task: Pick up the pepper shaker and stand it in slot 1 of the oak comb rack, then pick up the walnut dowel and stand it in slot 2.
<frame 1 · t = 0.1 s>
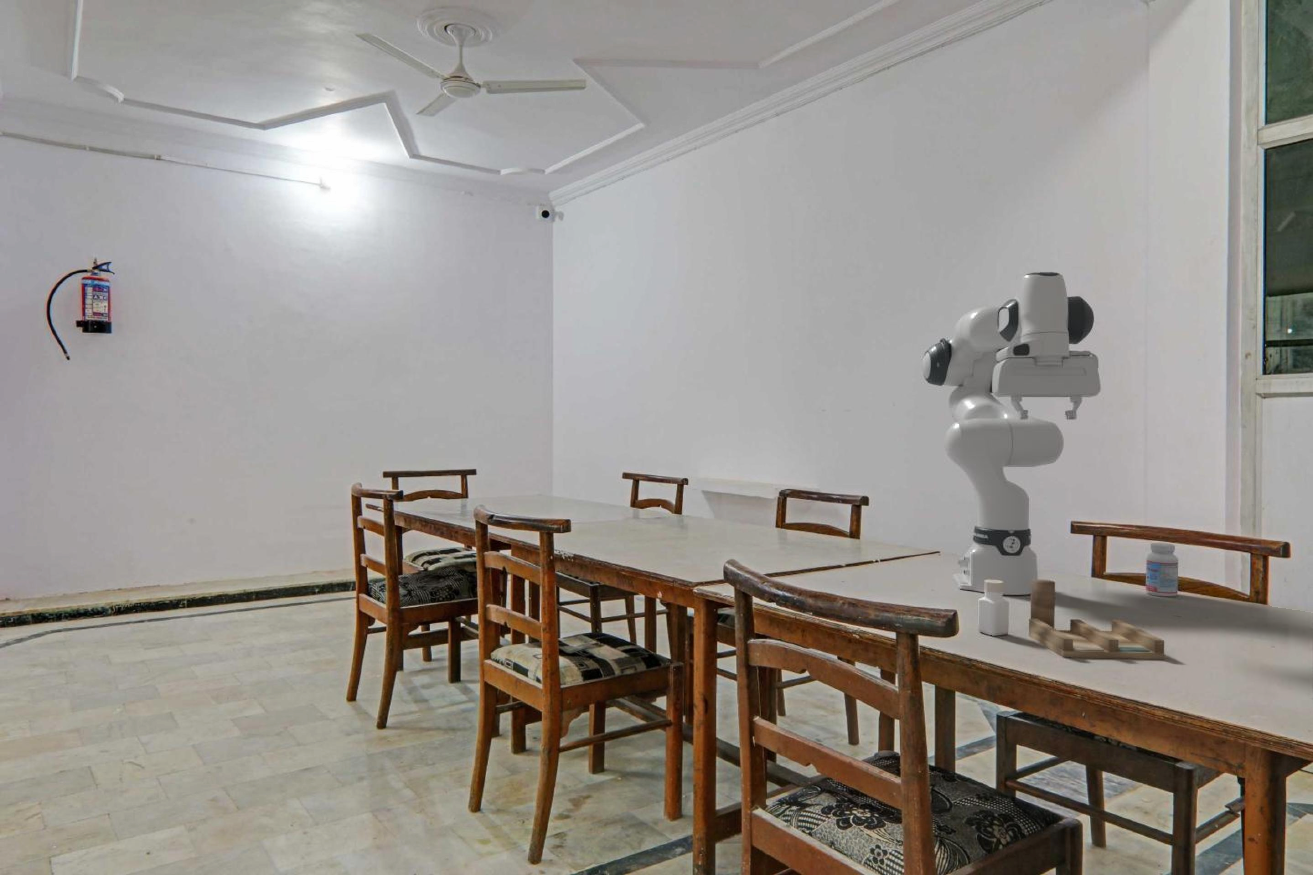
hand: (1046, 419, 167), 39 cm above the table, tool pointing down, fingers open, 8 cm apart
rack: (1092, 646, 143), on the table
pepper shaker: (992, 634, 152), on the table
dowel: (1042, 630, 154), on the table
pill bottle: (1161, 595, 187), on the table
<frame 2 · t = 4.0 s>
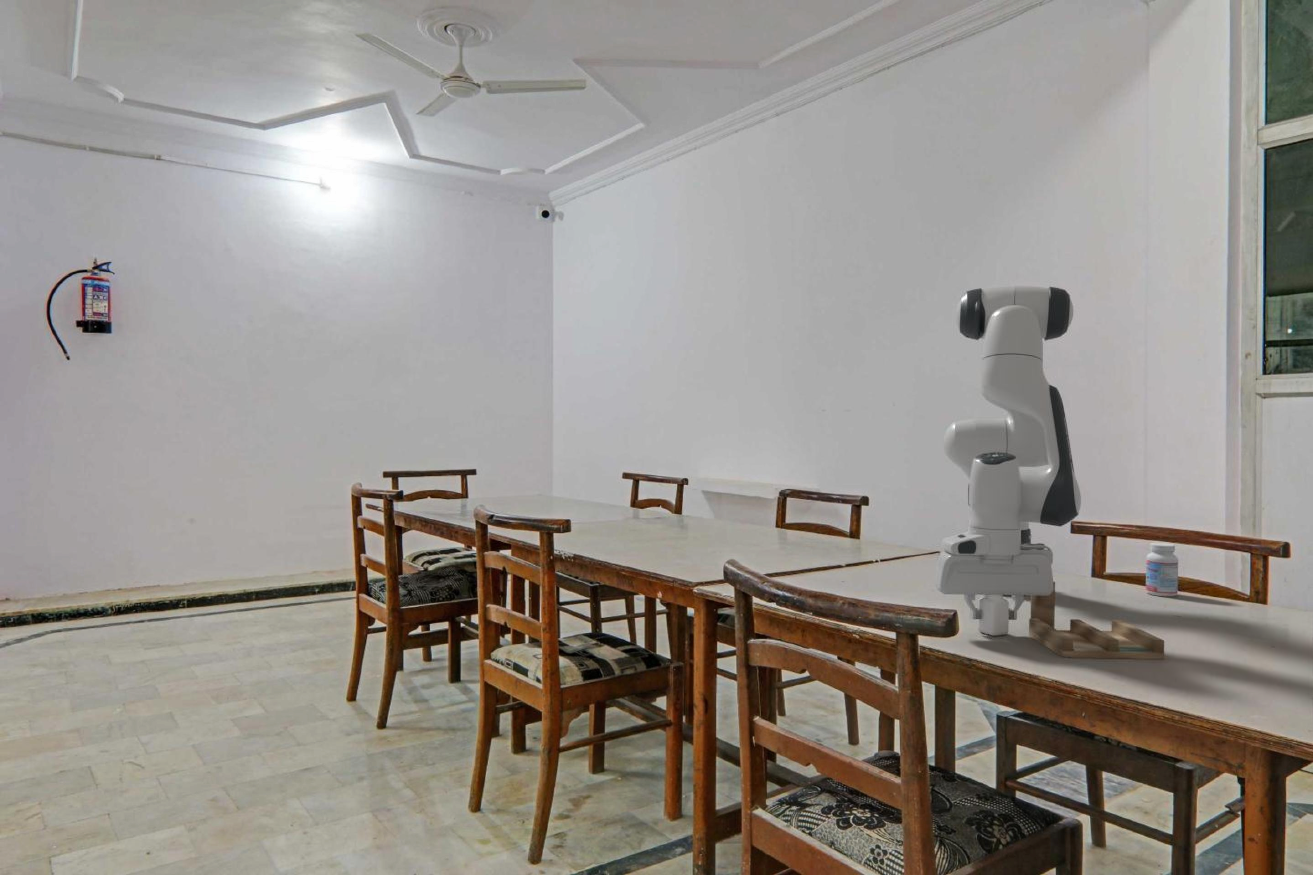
hand: (993, 618, 152), 3 cm above the table, tool pointing down, fingers closed on pepper shaker, 5 cm apart
pepper shaker: (993, 634, 152), on the table, touching gripper
everything else where it was.
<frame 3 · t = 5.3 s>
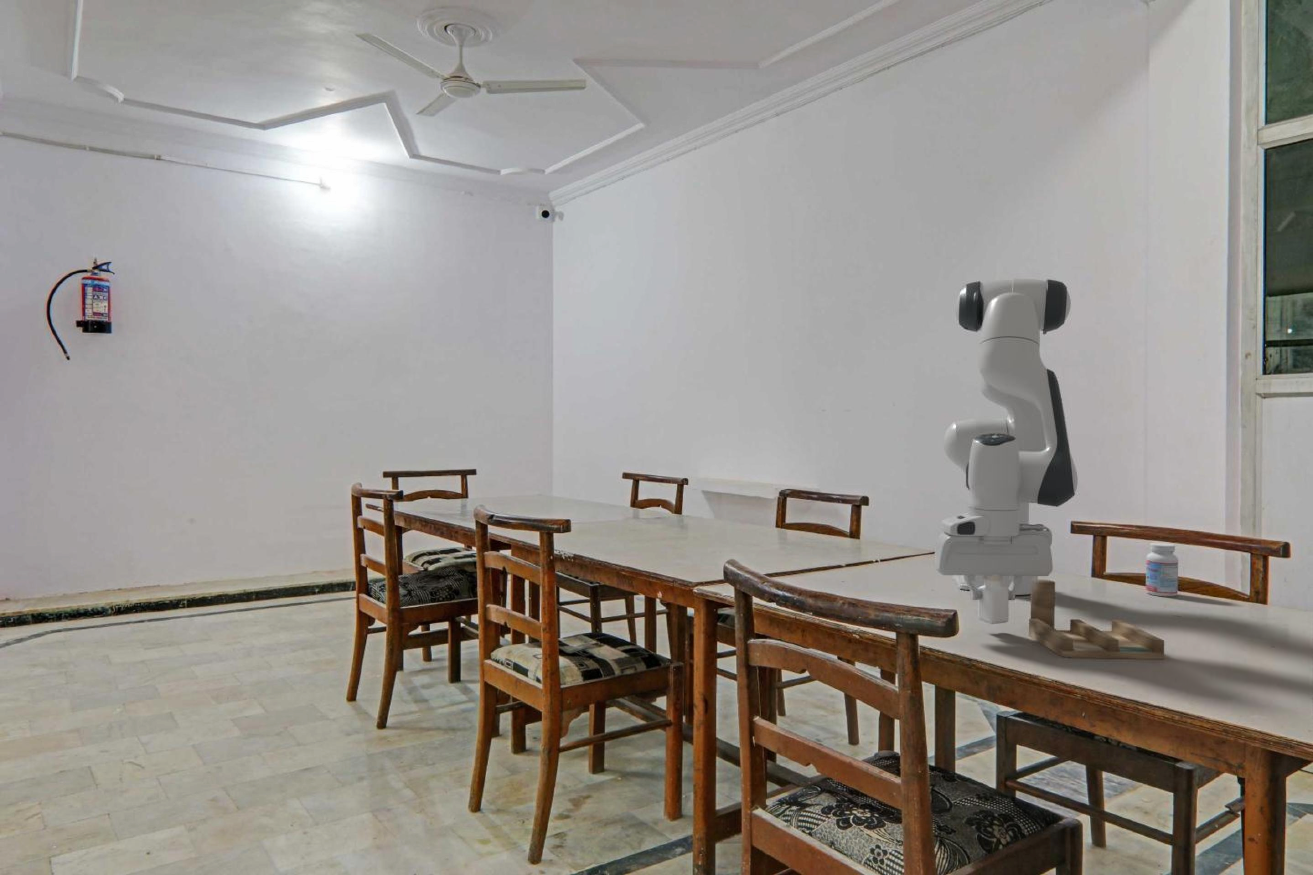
hand: (992, 599, 152), 6 cm above the table, tool pointing down, fingers closed on pepper shaker, 5 cm apart
pepper shaker: (993, 622, 152), point 2 cm above the table, touching gripper
everything else where it was.
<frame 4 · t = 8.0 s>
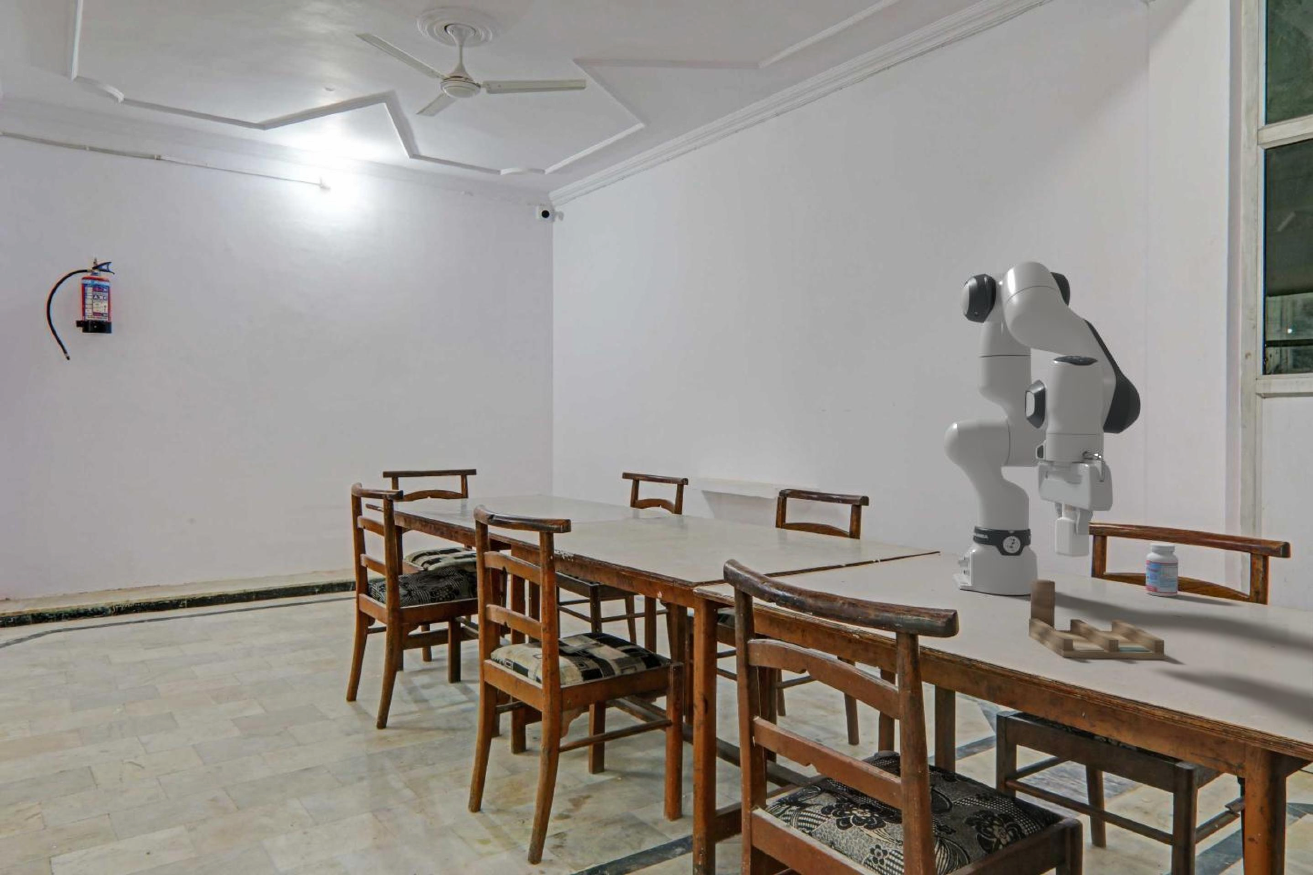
hand: (1072, 531, 143), 20 cm above the table, tool pointing down, fingers closed on pepper shaker, 5 cm apart
pepper shaker: (1072, 556, 143), point 15 cm above the table, touching gripper
everything else where it was.
when the fingers open (5 cm above the table, at t = 11.0 s): pepper shaker moves 2 cm, resting on rack.
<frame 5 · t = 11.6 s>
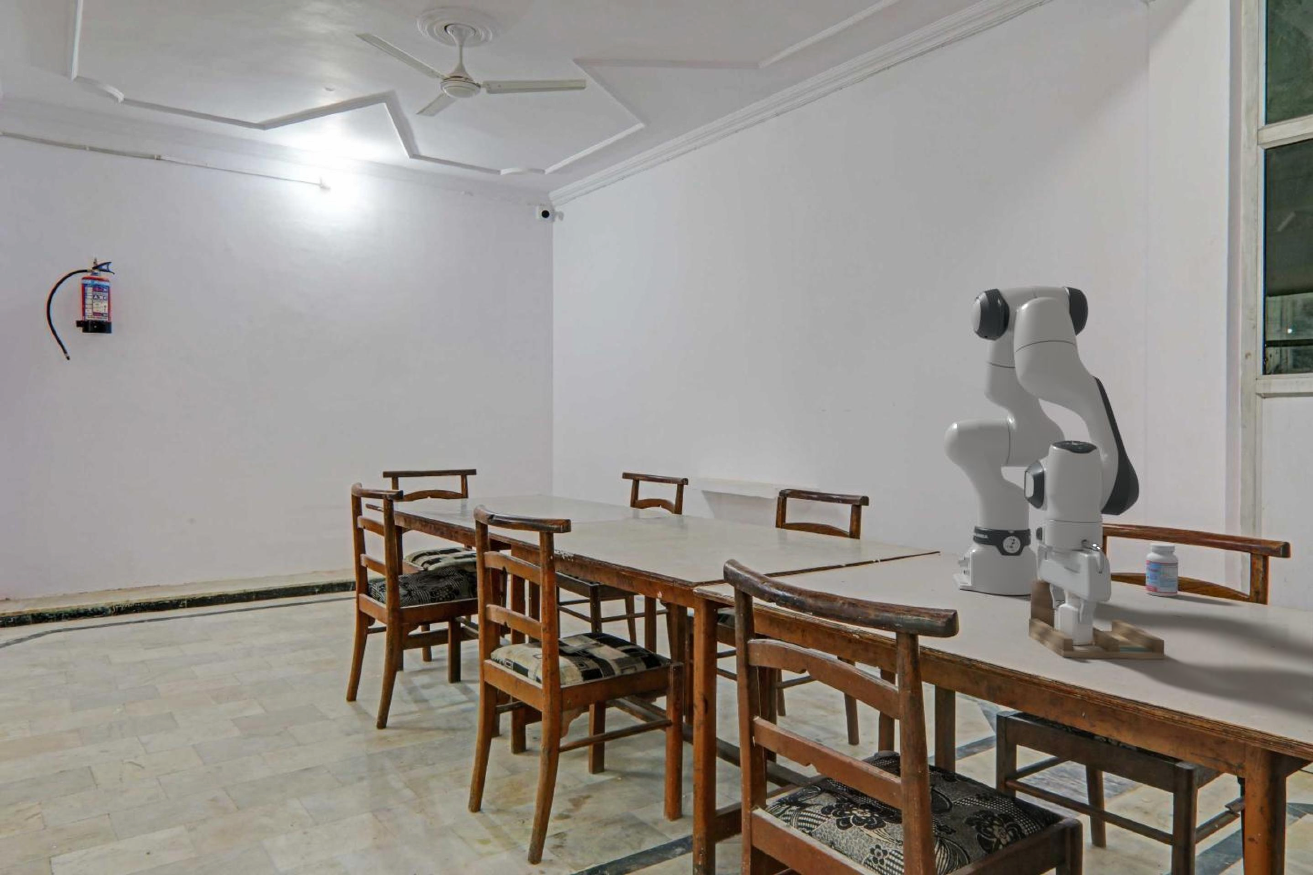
hand: (1071, 616, 143), 5 cm above the table, tool pointing down, fingers open, 8 cm apart
pepper shaker: (1075, 644, 142), point 1 cm above the table, touching gripper, rack
everything else where it was.
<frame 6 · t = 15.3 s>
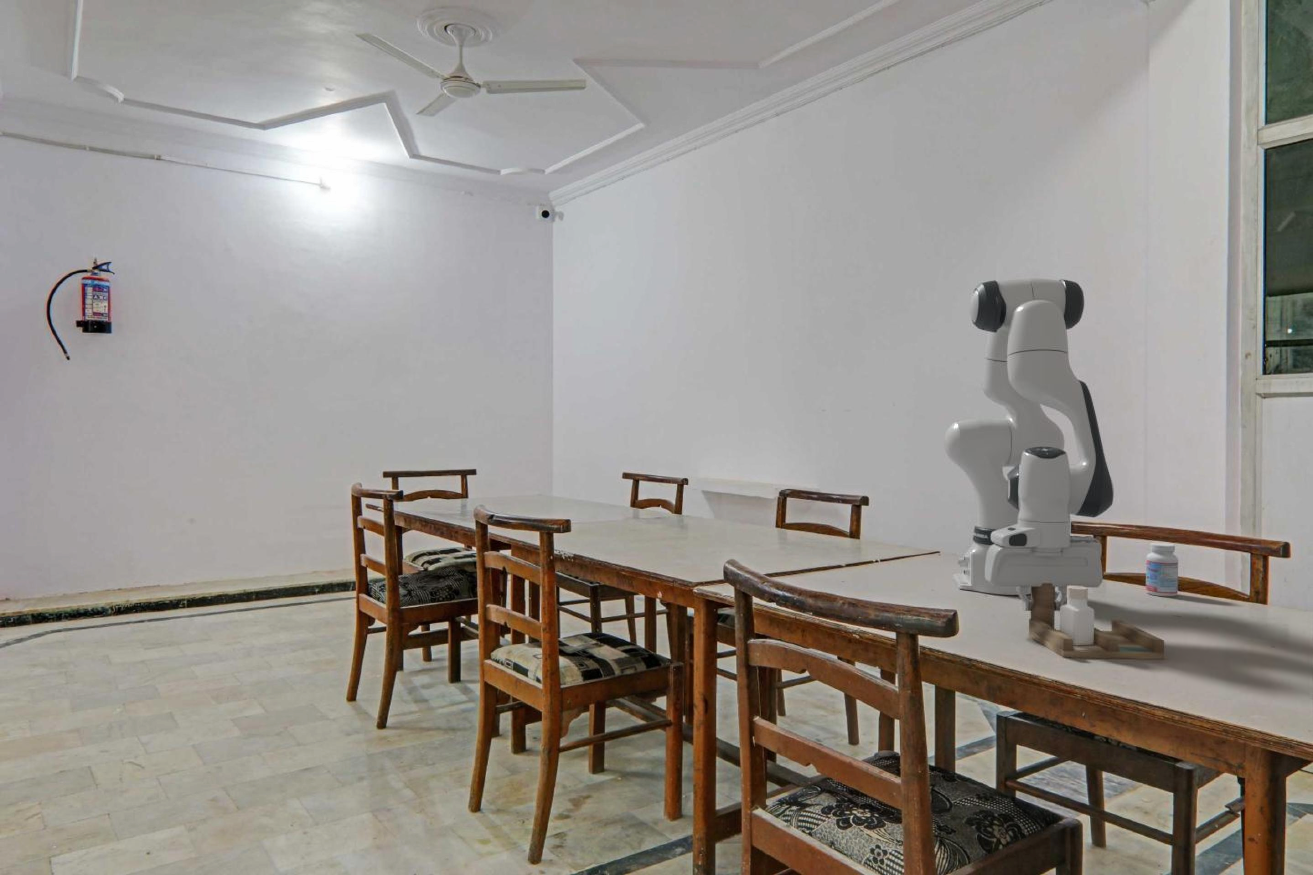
hand: (1042, 610, 154), 4 cm above the table, tool pointing down, fingers closed on dowel, 4 cm apart
pepper shaker: (1076, 644, 142), point 1 cm above the table, touching rack
dowel: (1042, 630, 154), on the table, touching gripper
everything else where it was.
when the fingers open (6 cm above the table, at t = 20.9 s): dowel drops 1 cm, resting on rack.
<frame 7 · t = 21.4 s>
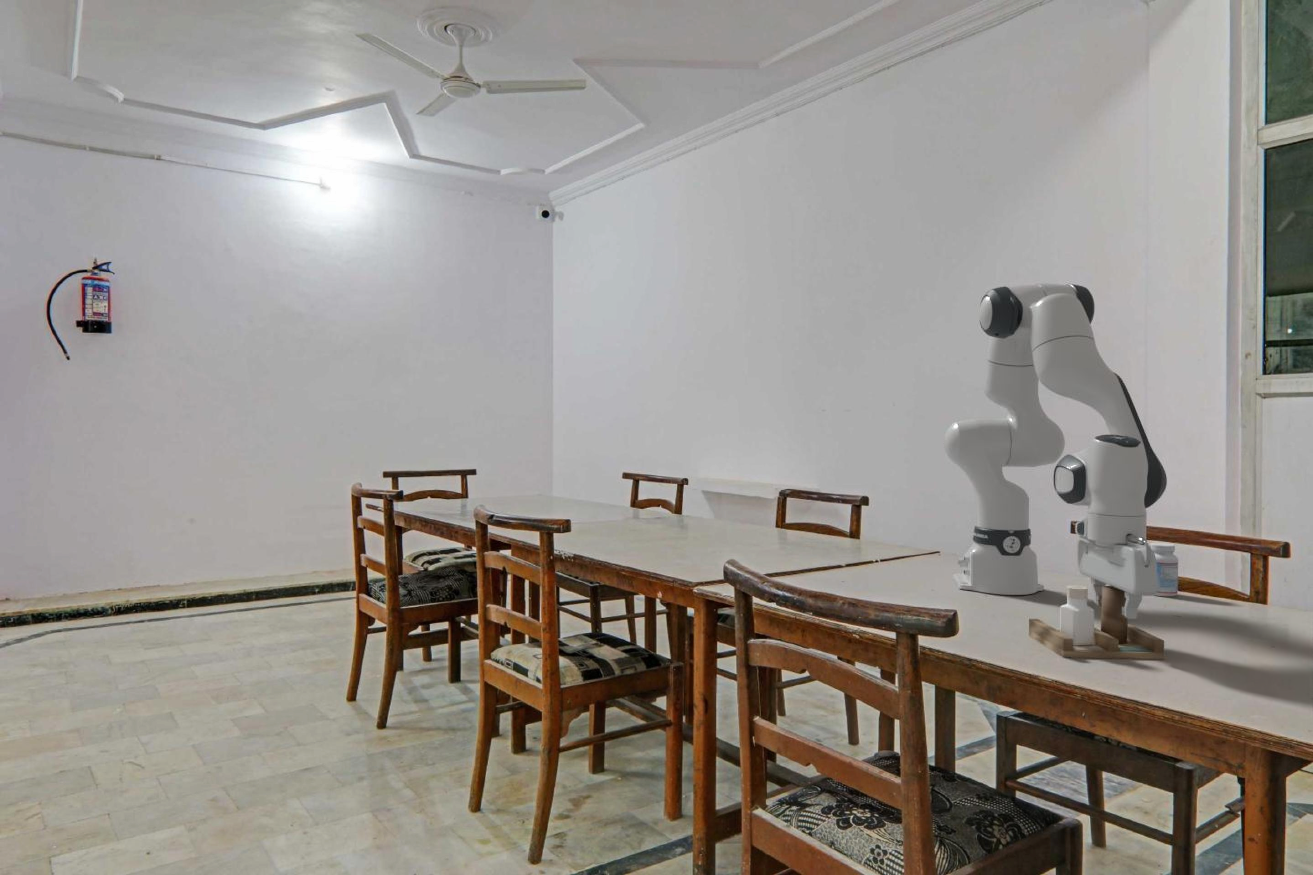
hand: (1114, 611, 143), 6 cm above the table, tool pointing down, fingers open, 8 cm apart
dowel: (1113, 640, 143), point 1 cm above the table, touching rack
everything else where it was.
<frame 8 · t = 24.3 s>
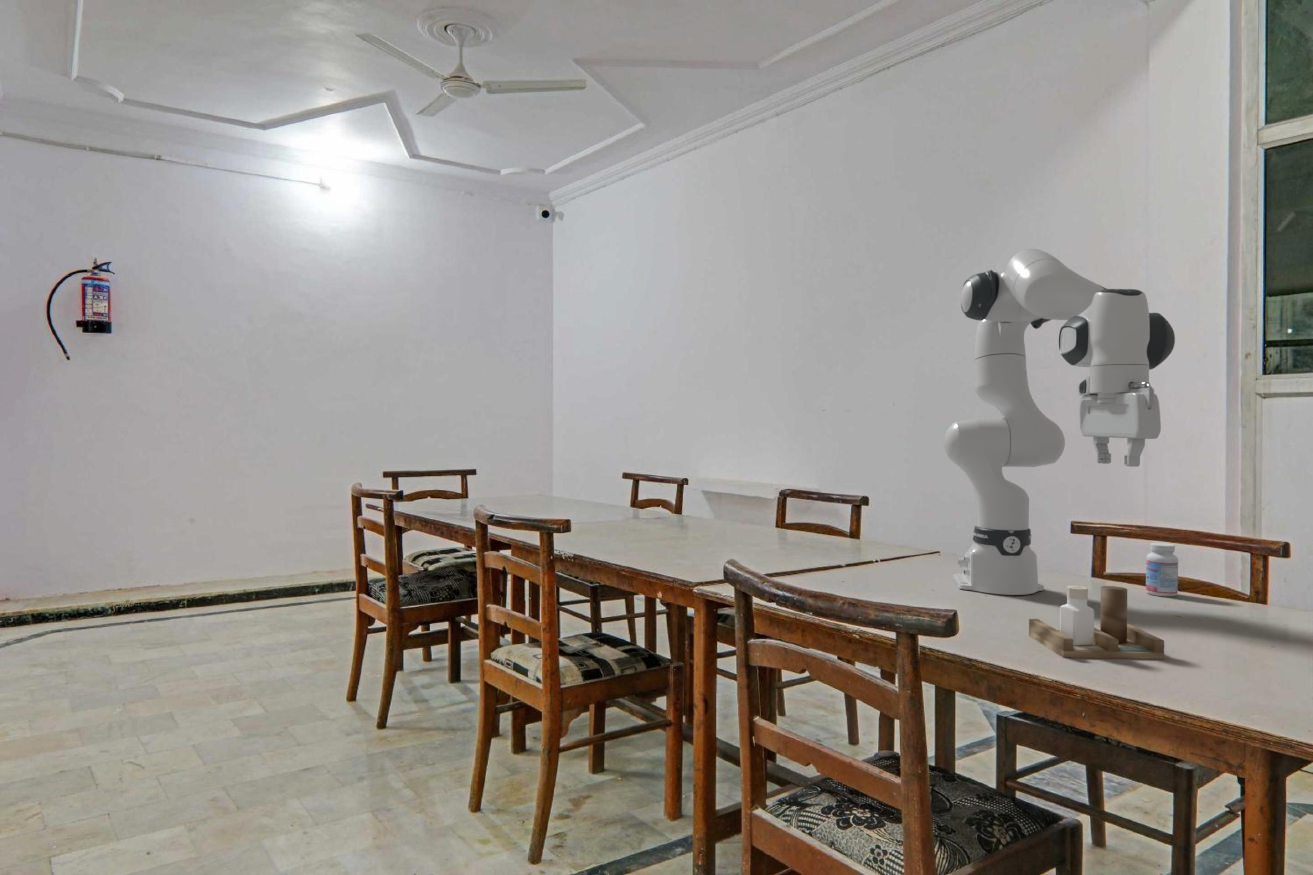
hand: (1117, 464, 142), 31 cm above the table, tool pointing down, fingers open, 8 cm apart
nothing on the table moved.
at the end: pepper shaker inside the target area on the rack (1.9 cm from its centre), point 0.8 cm above the rack's base; dowel inside the target area on the rack (0.2 cm from its centre), point 1.0 cm above the rack's base; pepper shaker tilted 0° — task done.
